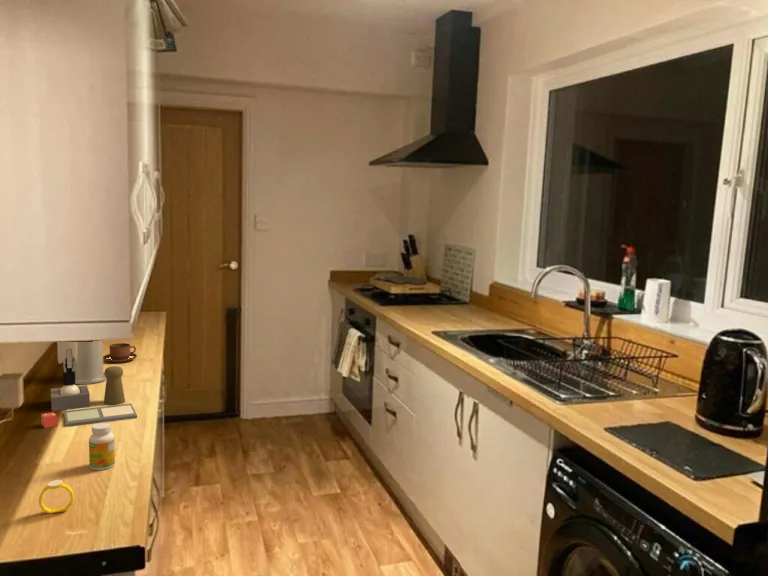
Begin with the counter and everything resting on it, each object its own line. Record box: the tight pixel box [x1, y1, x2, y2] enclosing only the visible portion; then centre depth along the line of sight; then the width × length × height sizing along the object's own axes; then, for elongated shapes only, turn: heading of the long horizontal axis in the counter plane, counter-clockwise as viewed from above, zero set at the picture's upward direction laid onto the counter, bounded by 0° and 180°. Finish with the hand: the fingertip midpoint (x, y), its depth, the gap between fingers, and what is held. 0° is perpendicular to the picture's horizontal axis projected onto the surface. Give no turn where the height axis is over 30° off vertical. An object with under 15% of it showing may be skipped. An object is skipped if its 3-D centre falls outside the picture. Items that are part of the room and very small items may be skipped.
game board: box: [63, 403, 138, 428], centre depth 182 cm, size 12×18×1 cm, turn 119°
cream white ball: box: [60, 384, 80, 395], centre depth 191 cm, size 5×5×5 cm
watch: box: [38, 479, 75, 515], centre depth 125 cm, size 6×3×6 cm, turn 109°
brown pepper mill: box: [103, 365, 126, 406], centre depth 194 cm, size 6×6×11 cm
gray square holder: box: [50, 384, 91, 412], centre depth 192 cm, size 10×10×4 cm
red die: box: [40, 411, 58, 429], centre depth 173 cm, size 3×3×3 cm
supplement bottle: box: [88, 422, 116, 471], centre depth 147 cm, size 5×5×10 cm
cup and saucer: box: [103, 342, 138, 363], centre depth 246 cm, size 12×12×6 cm
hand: (69, 384), depth 191 cm, fingers closed
